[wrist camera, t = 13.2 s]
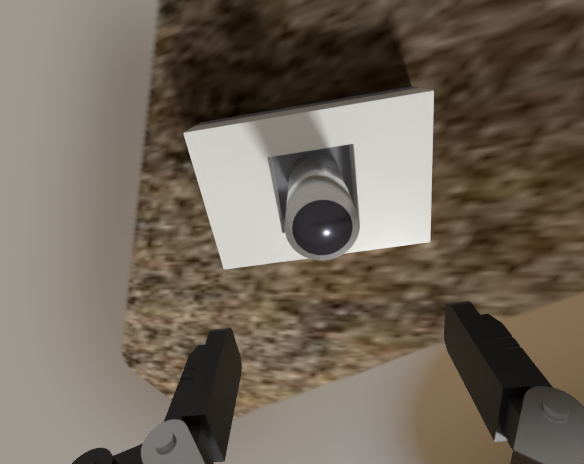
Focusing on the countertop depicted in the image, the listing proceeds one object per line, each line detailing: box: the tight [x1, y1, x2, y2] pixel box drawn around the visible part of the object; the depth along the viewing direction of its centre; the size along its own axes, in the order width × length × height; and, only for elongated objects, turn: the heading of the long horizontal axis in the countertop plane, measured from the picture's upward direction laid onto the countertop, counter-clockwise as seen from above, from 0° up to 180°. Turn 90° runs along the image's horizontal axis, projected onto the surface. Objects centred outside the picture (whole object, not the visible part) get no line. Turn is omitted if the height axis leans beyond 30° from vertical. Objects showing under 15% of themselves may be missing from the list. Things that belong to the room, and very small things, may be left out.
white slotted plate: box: [183, 86, 434, 269], centre depth 29 cm, size 18×12×5 cm, turn 99°
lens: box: [285, 153, 360, 260], centre depth 25 cm, size 4×4×10 cm
